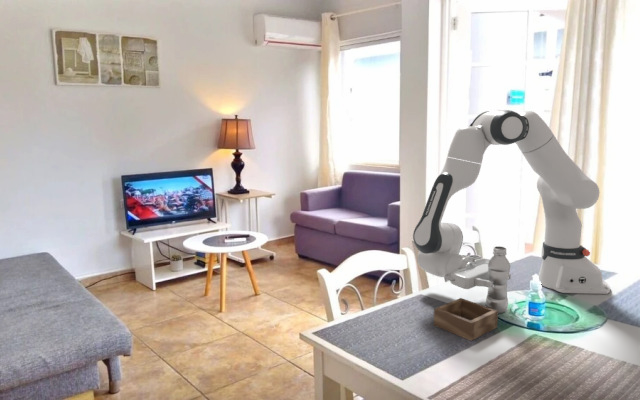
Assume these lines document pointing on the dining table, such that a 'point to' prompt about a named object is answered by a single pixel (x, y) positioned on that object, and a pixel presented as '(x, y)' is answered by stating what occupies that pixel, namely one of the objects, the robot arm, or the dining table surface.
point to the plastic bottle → (498, 280)
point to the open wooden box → (452, 322)
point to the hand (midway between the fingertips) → (500, 280)
